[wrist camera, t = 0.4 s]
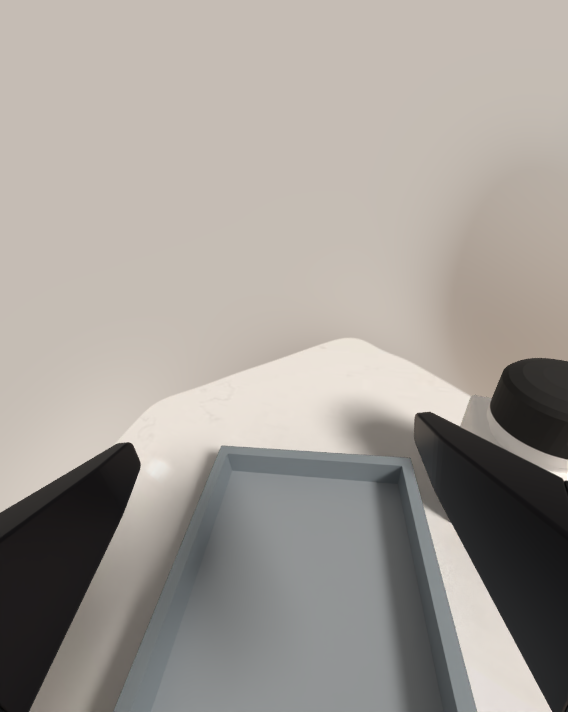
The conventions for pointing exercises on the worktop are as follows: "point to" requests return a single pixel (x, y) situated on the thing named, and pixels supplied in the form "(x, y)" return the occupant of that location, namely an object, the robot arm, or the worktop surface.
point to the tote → (303, 595)
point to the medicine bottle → (527, 413)
